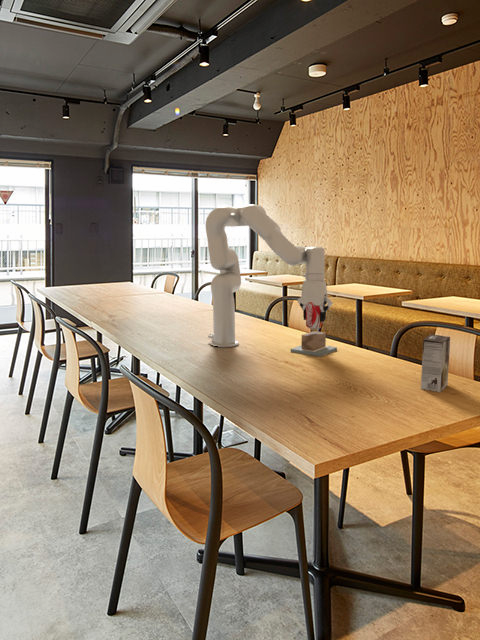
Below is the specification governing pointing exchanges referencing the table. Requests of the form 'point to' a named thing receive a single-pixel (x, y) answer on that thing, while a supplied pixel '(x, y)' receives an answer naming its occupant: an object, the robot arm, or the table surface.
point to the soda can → (313, 316)
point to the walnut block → (313, 340)
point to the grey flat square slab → (318, 352)
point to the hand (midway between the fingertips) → (314, 320)
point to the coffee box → (435, 363)
